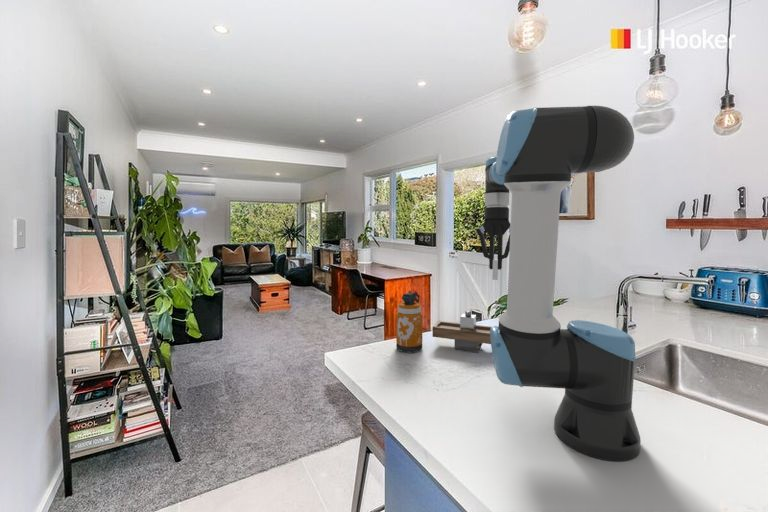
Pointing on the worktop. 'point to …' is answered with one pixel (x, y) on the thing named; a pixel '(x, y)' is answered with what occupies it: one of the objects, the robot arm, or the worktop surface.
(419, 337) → the canister
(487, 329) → the beam
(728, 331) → the worktop surface
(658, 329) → the worktop surface
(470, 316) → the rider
